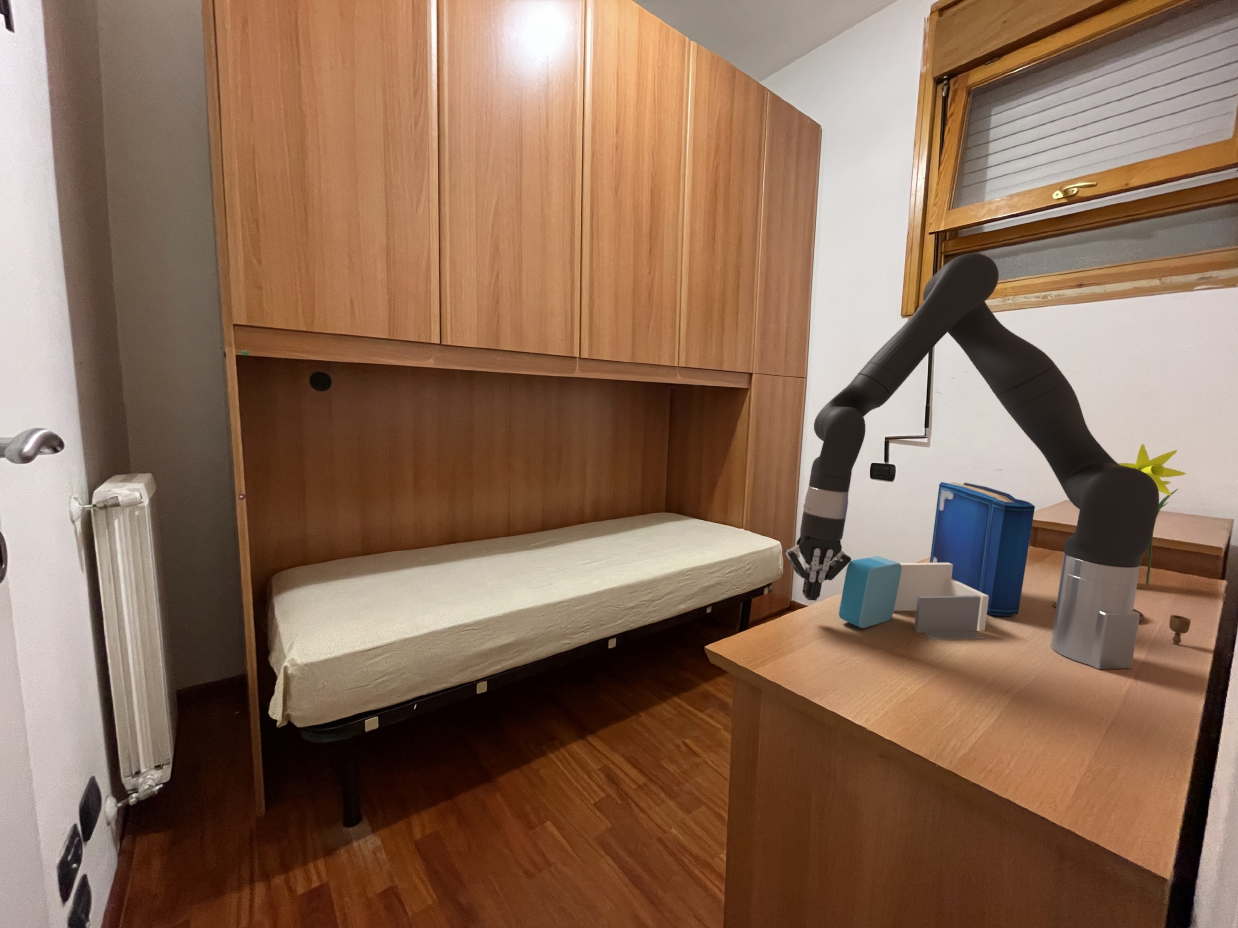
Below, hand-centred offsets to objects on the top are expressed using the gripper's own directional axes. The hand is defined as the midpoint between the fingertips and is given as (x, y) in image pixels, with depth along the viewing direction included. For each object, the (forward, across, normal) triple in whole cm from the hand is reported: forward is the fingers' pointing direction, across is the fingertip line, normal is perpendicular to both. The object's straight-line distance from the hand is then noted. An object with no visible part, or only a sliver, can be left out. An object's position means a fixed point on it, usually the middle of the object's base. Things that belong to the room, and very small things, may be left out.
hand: (810, 598), depth 95 cm
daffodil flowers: (-2, +89, +17) cm, 91 cm away
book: (+2, +43, +10) cm, 44 cm away
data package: (+4, +12, 0) cm, 12 cm away
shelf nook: (+3, +26, 0) cm, 26 cm away
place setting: (0, +64, -1) cm, 64 cm away
